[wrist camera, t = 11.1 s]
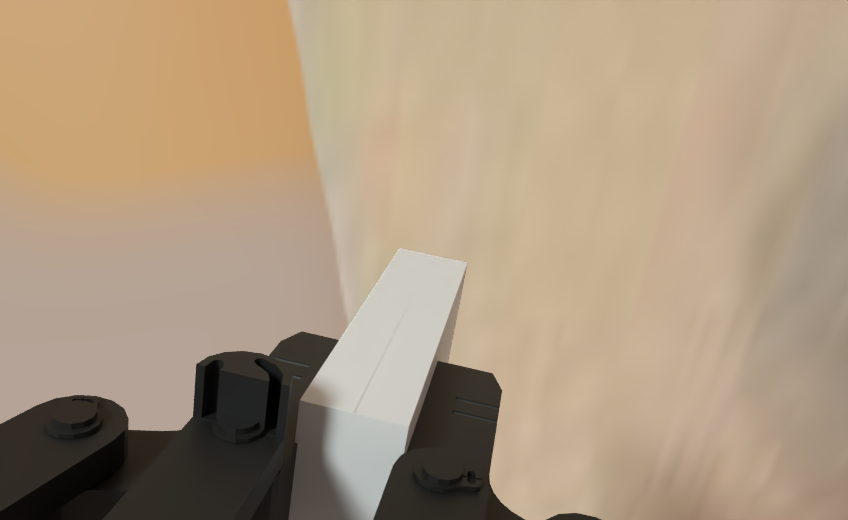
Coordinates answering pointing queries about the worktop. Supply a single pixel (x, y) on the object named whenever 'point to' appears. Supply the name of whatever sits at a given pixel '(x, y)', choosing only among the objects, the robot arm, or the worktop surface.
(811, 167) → the worktop surface
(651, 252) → the worktop surface
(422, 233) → the worktop surface
